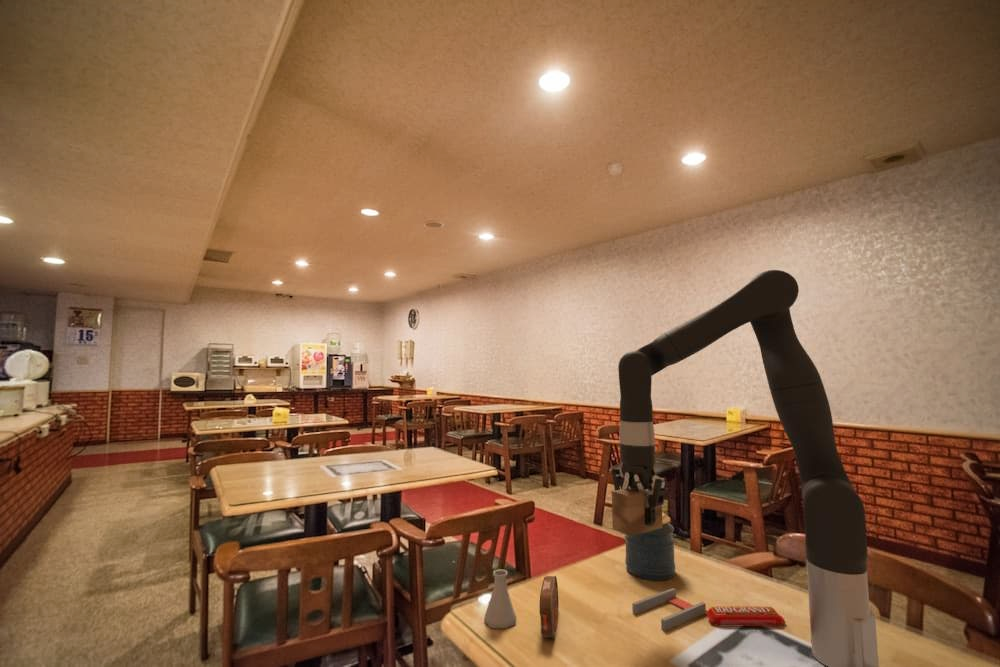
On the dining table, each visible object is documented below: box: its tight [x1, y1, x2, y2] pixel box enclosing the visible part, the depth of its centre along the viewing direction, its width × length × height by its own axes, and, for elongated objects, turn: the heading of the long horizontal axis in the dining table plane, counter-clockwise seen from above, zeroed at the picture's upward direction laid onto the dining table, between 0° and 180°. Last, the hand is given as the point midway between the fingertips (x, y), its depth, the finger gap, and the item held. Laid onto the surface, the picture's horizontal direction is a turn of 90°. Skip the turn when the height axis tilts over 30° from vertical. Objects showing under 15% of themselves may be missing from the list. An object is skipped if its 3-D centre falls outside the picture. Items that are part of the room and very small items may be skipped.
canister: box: [624, 511, 676, 581], centre depth 123 cm, size 13×13×18 cm
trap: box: [667, 596, 695, 610], centre depth 103 cm, size 6×3×1 cm, turn 32°
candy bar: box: [705, 605, 786, 627], centre depth 97 cm, size 16×4×3 cm, turn 90°
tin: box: [539, 575, 560, 639], centre depth 95 cm, size 15×3×8 cm, turn 168°
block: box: [611, 488, 663, 536], centre depth 97 cm, size 5×10×8 cm, turn 122°
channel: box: [631, 587, 707, 632], centre depth 100 cm, size 9×14×2 cm, turn 122°
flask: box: [483, 568, 517, 629], centre depth 97 cm, size 7×7×10 cm
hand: (639, 520), depth 97 cm, fingers closed on block, 5 cm apart
